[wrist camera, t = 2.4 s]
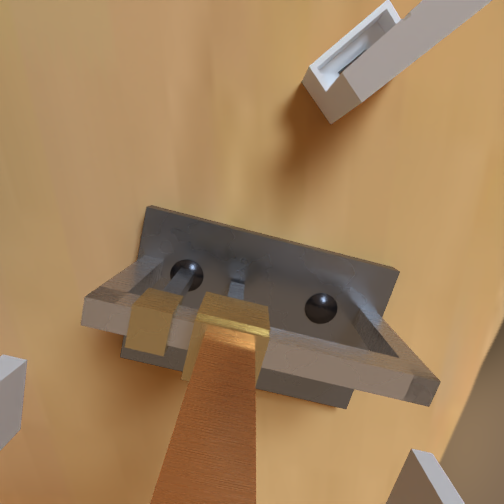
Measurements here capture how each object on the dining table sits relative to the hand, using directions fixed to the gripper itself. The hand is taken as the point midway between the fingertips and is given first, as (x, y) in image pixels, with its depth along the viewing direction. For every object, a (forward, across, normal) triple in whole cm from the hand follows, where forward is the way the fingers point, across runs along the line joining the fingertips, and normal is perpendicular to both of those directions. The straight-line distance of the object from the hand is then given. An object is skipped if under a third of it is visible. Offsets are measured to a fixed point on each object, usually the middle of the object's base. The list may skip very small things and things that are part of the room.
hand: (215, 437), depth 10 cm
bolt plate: (+16, +2, -2) cm, 16 cm away
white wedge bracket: (+16, +4, +17) cm, 24 cm away
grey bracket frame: (+14, +2, 0) cm, 14 cm away
